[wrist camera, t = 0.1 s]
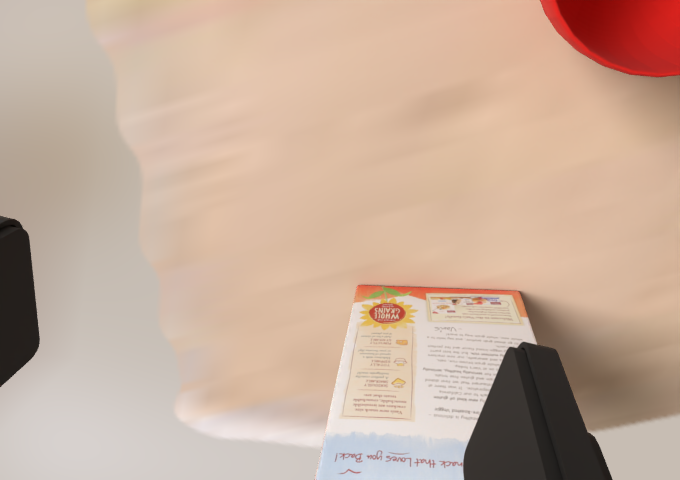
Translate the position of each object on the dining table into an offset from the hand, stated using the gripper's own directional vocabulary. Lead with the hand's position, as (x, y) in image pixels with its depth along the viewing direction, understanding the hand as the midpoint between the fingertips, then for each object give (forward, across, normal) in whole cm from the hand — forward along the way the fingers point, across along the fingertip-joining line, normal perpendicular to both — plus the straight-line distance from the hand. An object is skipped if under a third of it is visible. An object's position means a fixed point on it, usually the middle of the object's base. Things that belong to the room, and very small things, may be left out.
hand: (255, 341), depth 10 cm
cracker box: (+31, -9, +18) cm, 37 cm away
